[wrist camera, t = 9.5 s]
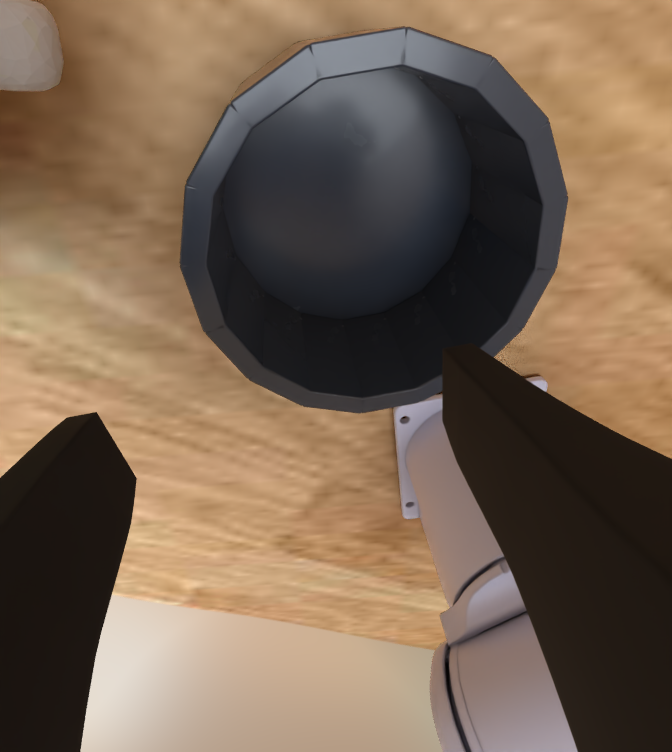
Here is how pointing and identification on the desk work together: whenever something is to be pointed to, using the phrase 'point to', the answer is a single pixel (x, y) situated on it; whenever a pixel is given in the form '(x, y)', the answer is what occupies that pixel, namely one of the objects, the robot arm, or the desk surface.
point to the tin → (371, 217)
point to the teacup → (28, 47)
